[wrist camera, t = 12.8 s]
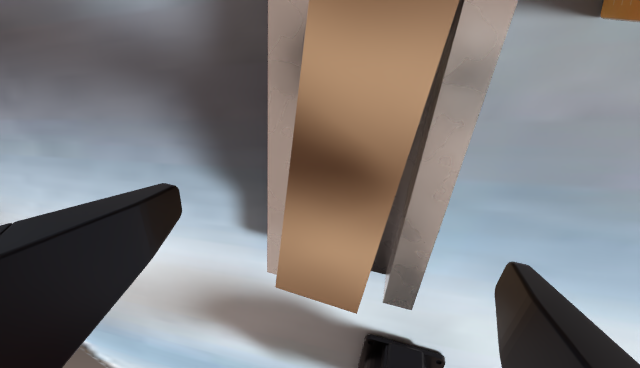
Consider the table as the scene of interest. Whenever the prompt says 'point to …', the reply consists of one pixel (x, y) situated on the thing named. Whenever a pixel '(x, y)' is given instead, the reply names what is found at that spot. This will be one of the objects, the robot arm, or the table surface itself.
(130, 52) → the table surface
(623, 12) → the small box
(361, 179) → the tall wooden block
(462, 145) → the door track
